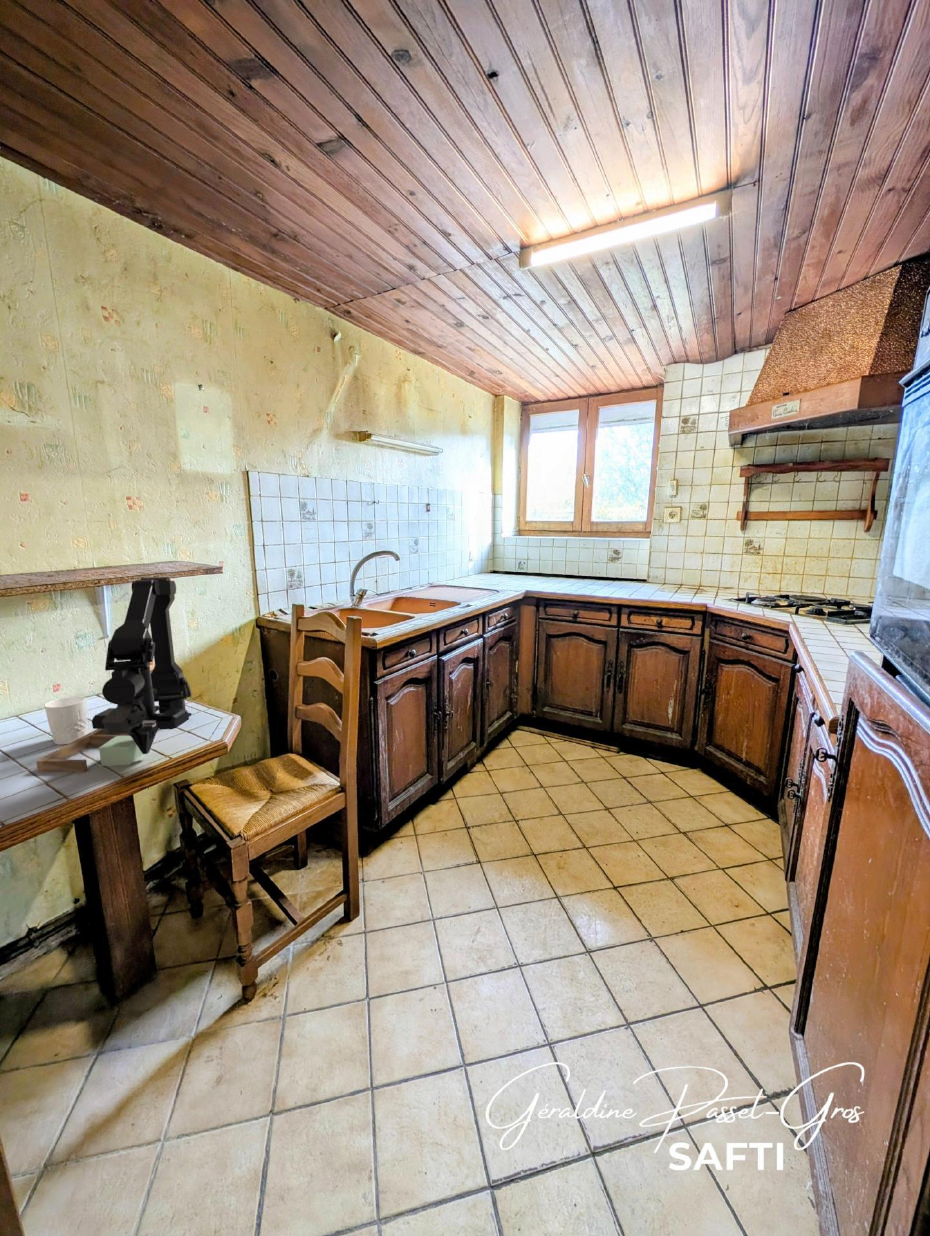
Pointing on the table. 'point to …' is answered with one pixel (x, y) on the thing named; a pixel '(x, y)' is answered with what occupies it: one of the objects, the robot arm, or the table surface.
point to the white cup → (67, 719)
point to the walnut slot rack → (59, 757)
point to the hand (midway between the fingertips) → (146, 753)
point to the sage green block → (119, 751)
